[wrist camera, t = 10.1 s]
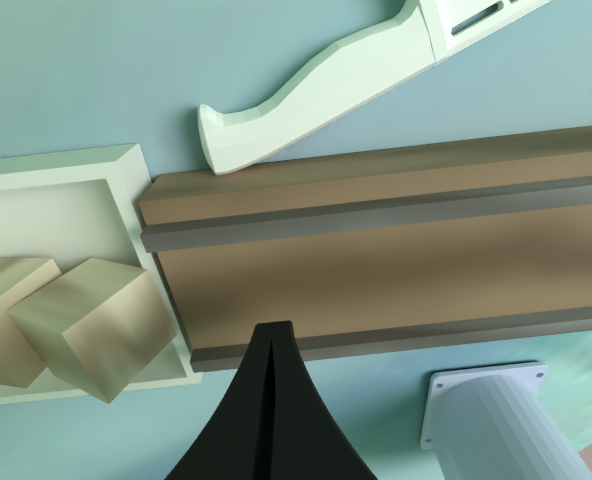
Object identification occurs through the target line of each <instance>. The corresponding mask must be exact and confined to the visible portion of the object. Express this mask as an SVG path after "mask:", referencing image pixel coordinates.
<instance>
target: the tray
mask: <svg viewBox="0 0 592 480" xmlns="http://www.w3.org/2000/svg"><path fill="white" fill-rule="evenodd" d="M152 185H153V184H152V181H151V178H150V175H149V172H148V169H147V166H146V163H145V160H144V157H143V154H142V151H141V148H140V145H139V143H133V144H124V145H116V146H107V147H98V148H89V149H80V150H72V151H63V152H54V153H45V154H36V155H28V156H19V157H10V158H1V159H0V258H52V259H53V260H54V262H55V263H56V265H57V266H58V268H59V270H60V271H61V273H62V274H63V275H64V274H66V273H68V272H69V271H71V270H72V269H74V268H76V267H77V266H79V265H81V264H82V263H84V262H85V261H87V260H89V259H90V258H97V259H102V260H106V261H111V262H116V263H120V264H125V265H130V266H134V267H139V268H143V269H148V271H149V273H150V275H151V278H152V280H153V282H154V284H155V287H156V289H157V291H158V293H159V295H160V298H161V300H162V302H163V304H164V307H165V309H166V311H167V313H168V316H169V318H170V320H171V322H172V325H173V327H174V329H175V331H176V334H177V335H176V336H175V337H174V338H173V339H172V340H171V341H170V343H169V344H168V345H167V346H166V347H165V348H164V349H163V350H162V351H161V352H160V353H159V354H158V355H157V356H156V357H155V358H154V359H153V360H152V361H151V362H150V363H149V364H148V365H147V366H146V367H145V368H144V369H143V370H142V371H141V372H140V373H139V374H138V375H137V376H136V377H135V378H134V379H133V380H132V381H131V382H130V383H129V384H128V385H127V386H126V387H125V388H124V389H123V390H122V391H130V390H140V389H149V388H158V387H167V386H177V385H186V384H195V383H201V380H202V375H203V372H198V373H194V372H193V370H192V367H191V365H190V359H191V355H192V351H193V348H192V345H191V343H190V340H189V337H188V335H187V332H186V329H185V327H184V324H183V321H182V319H181V316H180V313H179V311H178V308H177V305H176V303H175V300H174V297H173V295H172V292H171V289H170V287H169V284H168V281H167V279H166V276H165V273H164V271H163V268H162V265H161V263H160V260H159V257H158V255H157V252H152V253H146V250H145V248H144V245H143V243H142V240H141V238H140V234H141V233H142V231H143V230H144V228H145V227H146V222H145V220H144V217H143V214H142V212H141V209H140V206H139V204H138V202H139V200H140V199H141V198H142V197H143V196H144V194H145V193H146V192H147V191H148V189H149V188H150V187H151V186H152ZM84 395H90V394H88V393H87V392H85V391H83V390H81V389H79V388H77V387H75V386H73V385H71V384H69V383H67V382H65V381H63V380H61V379H59V378H57V377H55V376H54V375H53V374H52V372H51V371H50V370H49V368H48V367H47V368H46V369H45V370H44V371H43V372H42V373H41V374H40V375H39V376H38V377H37V378H36V379H35V380H34V381H33V382H32V383H31V384H30V385H29V386H28V387H27V388H19V387H12V386H6V385H0V404H9V403H18V402H28V401H37V400H46V399H56V398H65V397H74V396H84Z"/></svg>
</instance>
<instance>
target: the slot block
mask: <svg viewBox="0 0 592 480" xmlns="http://www.w3.org/2000/svg"><path fill="white" fill-rule="evenodd" d="M138 204H139V206H140V209H141V212H142V214H143V217H144V220H145V222H146V227H145V228H144V230H143V231H142V233H141V234H140V238H141V240H142V243H143V245H144V248H145V250H146V253H152V252H157V255H158V257H159V260H160V263H161V265H162V268H163V271H164V273H165V276H166V279H167V281H168V284H169V287H170V289H171V292H172V295H173V297H174V300H175V303H176V305H177V308H178V311H179V313H180V316H181V319H182V321H183V324H184V327H185V329H186V332H187V335H188V337H189V340H190V343H191V345H192V348H193V351H192V355H191V359H190V365H191V367H192V370H193V372H194V373H198V372H210V371H219V370H228V369H237V368H239V366H240V364H241V362H242V359H243V357H244V355H245V353H246V350H247V348H248V345H249V343H250V340H251V337H252V334H253V331H254V328H255V326H256V325H257V324H258V323H267V322H277V321H286V320H290V321H291V322H292V323H293V329H294V336H295V340H296V343H297V346H298V349H299V352H300V355H301V357H302V360H303V361H312V360H321V359H330V358H340V357H349V356H358V355H368V354H377V353H386V352H395V351H405V350H414V349H423V348H433V347H442V346H451V345H461V344H470V343H479V342H488V341H498V340H507V339H516V338H526V337H535V336H544V335H554V334H563V333H572V332H581V331H591V330H592V126H586V127H577V128H568V129H559V130H551V131H542V132H533V133H524V134H515V135H506V136H497V137H488V138H480V139H471V140H462V141H453V142H444V143H435V144H426V145H418V146H409V147H400V148H391V149H382V150H373V151H364V152H355V153H347V154H338V155H329V156H320V157H311V158H302V159H293V160H284V161H276V162H267V163H258V164H252V165H250V166H248V167H245V168H243V169H240V170H238V171H235V172H232V173H229V174H224V175H216V174H215V173H214V172H213V170H212V169H205V170H196V171H187V172H178V173H169V174H161V175H160V176H159V177H158V178H157V180H156V181H155V182H154V183H153V185H152V186H151V187H150V188H149V189H148V191H147V192H146V193H145V194H144V196H143V197H142V198H141V199H140V200H139V202H138Z"/></svg>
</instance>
